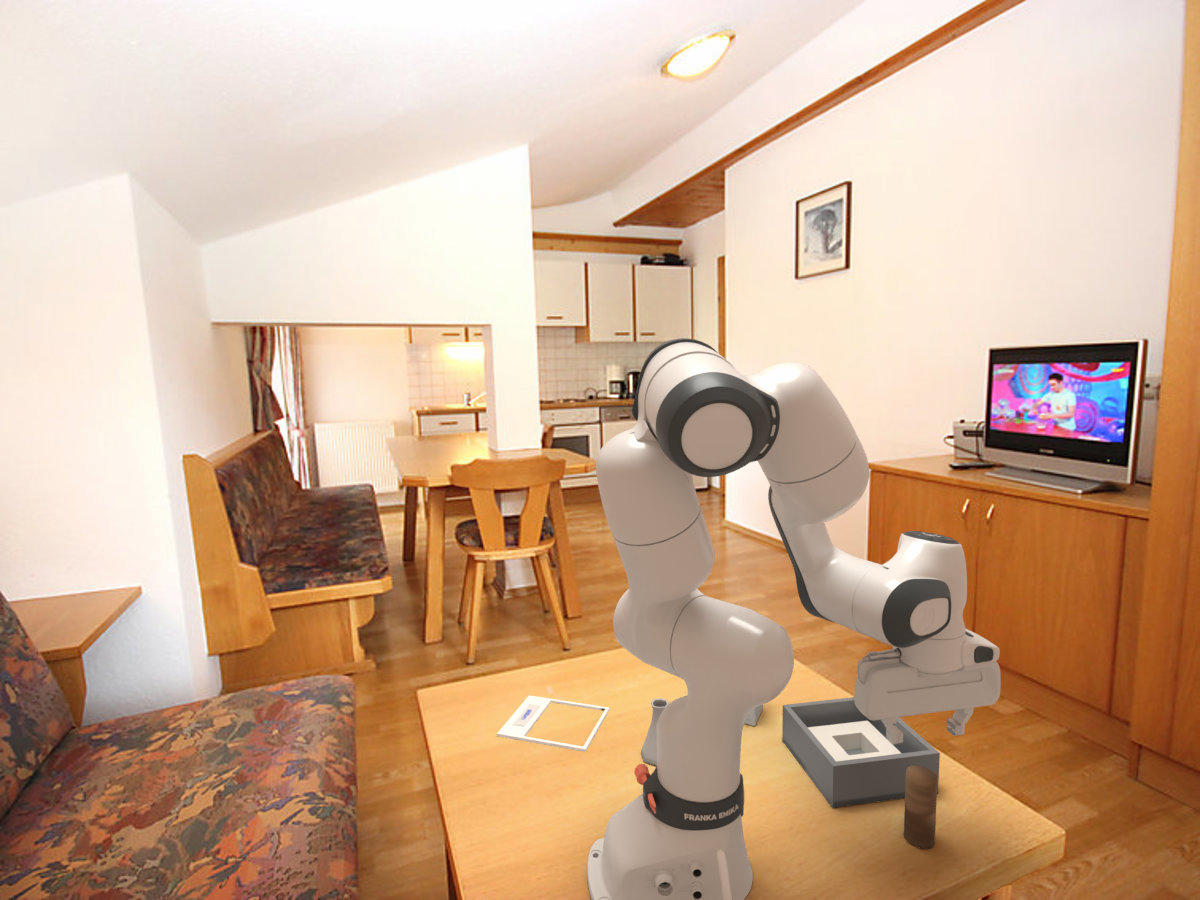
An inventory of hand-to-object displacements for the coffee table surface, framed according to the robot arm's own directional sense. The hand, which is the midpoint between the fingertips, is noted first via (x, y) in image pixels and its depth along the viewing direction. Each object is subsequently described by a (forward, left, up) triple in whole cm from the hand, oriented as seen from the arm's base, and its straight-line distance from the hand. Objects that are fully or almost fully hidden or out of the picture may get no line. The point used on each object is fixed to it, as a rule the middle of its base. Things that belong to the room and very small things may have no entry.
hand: (925, 737), depth 87 cm
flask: (-32, +26, -16) cm, 44 cm away
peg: (0, 0, -16) cm, 16 cm away
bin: (0, +17, -16) cm, 23 cm away
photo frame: (-50, +40, -16) cm, 66 cm away
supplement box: (-13, +36, -16) cm, 41 cm away
